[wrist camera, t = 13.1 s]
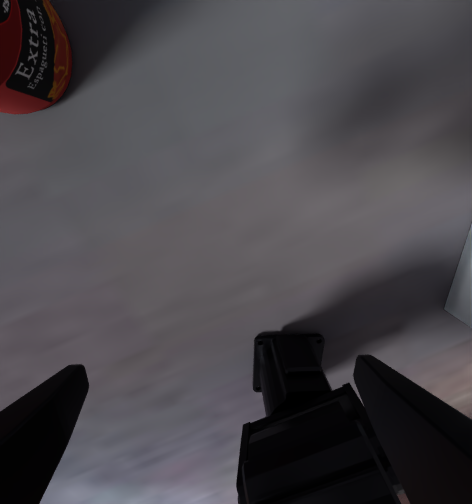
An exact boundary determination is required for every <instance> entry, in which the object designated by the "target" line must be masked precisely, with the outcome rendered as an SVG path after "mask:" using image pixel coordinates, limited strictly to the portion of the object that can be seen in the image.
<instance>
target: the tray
mask: <svg viewBox="0 0 472 504" xmlns="http://www.w3.org/2000/svg"><path fill="white" fill-rule="evenodd" d="M444 310H446V311H447V312H449V313H450V314H452V315H453V316H454V317H456V318H457V319H459V320H460V321H462V322H463V323H465V324H466V325H468V326H469V327H471V328H472V224H471V227H470V230H469V233H468V236H467V239H466V242H465V245H464V248H463V251H462V255H461V258H460V261H459V264H458V267H457V270H456V273H455V276H454V279H453V282H452V285H451V288H450V291H449V294H448V298H447V301H446V304H445V307H444Z"/></svg>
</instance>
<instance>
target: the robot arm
mask: <svg viewBox="0 0 472 504" xmlns="http://www.w3.org/2000/svg"><path fill="white" fill-rule="evenodd" d="M318 339H320V340H318ZM317 340H318V341H317ZM258 341H262V342H258ZM323 347H324V338H323V336H322V335H320V334H302V335H267V336H257V337H256V338H255V340H254V364H253V390H254V391H255V392H262V395H263V401H264V407H265V412H266V417H265V418H262V419H260V420H257V421H255V422H252V423H250V422H248V423H246V424H243V429H242V437H241V446H240V455H239V464H238V473H237V483H236V487H237V492H238V504H401V502H400V500H399V498H398V496H397V495H400V494H403V493H405V494H406V496H407V498H408V500H409V502H410V504H472V419H470V418H468V417H467V416H465V415H464V414H462V413H461V412H459V411H458V410H456V409H454V408H453V407H451V406H450V405H448V404H447V403H445V402H444V401H442V400H440V399H439V398H437V397H436V396H434V395H433V394H431V393H430V392H428V391H426V390H425V389H423V388H422V387H420V386H419V385H417V384H416V383H414V382H412V381H411V380H409V379H408V378H406V377H405V376H403V375H402V374H400V373H398V372H397V371H395V370H394V369H392V368H391V367H389V366H388V365H386V364H385V363H383V362H381V361H380V360H378V359H377V358H375V357H374V356H372V355H358V356H357V359H356V363H355V368H354V373H353V377H354V381H355V384H356V387H357V389H358V392H359V394H360V397H361V399H362V402H363V404H364V406H363V404H362V402H361V401H360V399H359V398H358V396H357V394H356V393H355V391H354V390H353V388H352V386H351V385H350V383H346V384H344V385H342V386H343V387H340V388H338V389H335V390H332V388H331V386H330V384H329V382H328V380H327V378H326V376H325V374H324V372H323V370H322V367H321V361H322V354H323ZM88 389H89V382H88V378H87V374H86V370H85V367H84V366H83V365H81V364H76V365H68V366H67V367H65V368H64V369H62V370H61V371H59V372H58V373H56V374H55V375H53V376H52V377H50V378H49V379H47V380H46V381H44V382H43V383H42V384H40V385H39V386H37V387H36V388H34V389H33V390H31V391H30V392H28V393H27V394H25V395H24V396H22V397H21V398H19V399H18V400H17V401H15V402H14V403H12V404H11V405H9V406H8V407H6V408H5V409H3V410H2V411H0V504H39V503H40V501H41V499H42V497H43V495H44V493H45V491H46V489H47V487H48V485H49V482H50V480H51V478H52V476H53V474H54V472H55V470H56V468H57V466H58V464H59V462H60V460H61V458H62V456H63V454H64V451H65V449H66V447H67V445H68V442H69V440H70V438H71V435H72V432H73V430H74V427H75V425H76V422H77V419H78V417H79V414H80V411H81V409H82V406H83V403H84V401H85V398H86V395H87V393H88Z"/></svg>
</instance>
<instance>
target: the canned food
mask: <svg viewBox="0 0 472 504" xmlns="http://www.w3.org/2000/svg"><path fill="white" fill-rule="evenodd" d="M71 71H72V54H71V48H70V44H69V40H68V36H67V34H66V31H65V29H64V27H63V24H62V22H61V20H60V18H59V16H58V14H57V13H56V11H55V10H54V8H53V6H52V5H51V3H50V1H49V0H0V112H3V113H10V114H28V113H32V112H36V111H39V110H43V109H46V108H47V107H49V106H51V105H53V104H54V103H55V102H56V101H57V100H58V99H59V98H60V97H61V96H62V95H63V93H64V92H65V90H66V88H67V86H68V83H69V80H70V77H71Z"/></svg>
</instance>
